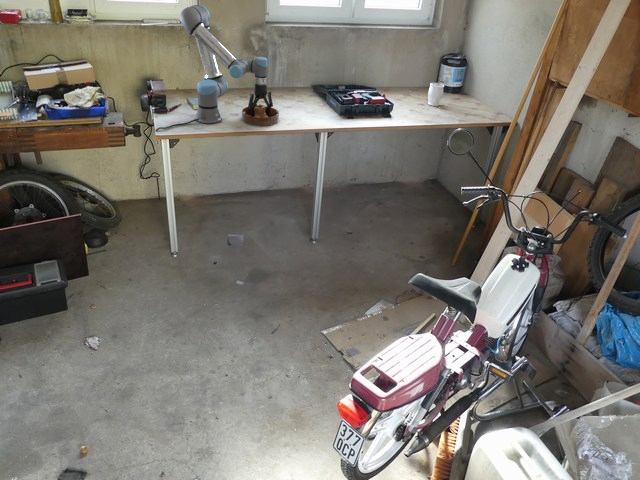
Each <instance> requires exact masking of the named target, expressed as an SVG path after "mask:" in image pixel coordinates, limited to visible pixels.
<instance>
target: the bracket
mask: <svg viewBox="0 0 640 480" xmlns="http://www.w3.org/2000/svg"><path fill="white" fill-rule="evenodd" d="M265 106H266V104H262V103H259V104H258V103H257V104H256V106H255V108H254V110H255V117H260V118H265V117H268V116H267V114H266V113H265Z"/></svg>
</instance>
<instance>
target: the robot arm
mask: <svg viewBox="0 0 640 480" xmlns="http://www.w3.org/2000/svg"><path fill="white" fill-rule="evenodd" d="M210 17H211V14H210V11H209V9H207V7H205V6H204V5H202V4H193V5H191V6H188V7H185V8H184V9H182V10H181V12H180V15H179V19H180V23H181V25H182V27H183V28H184V29H185V31H187V33H188V34H190V36H192V37H194V38H195V42H196V46H197V49H198V54H199V57H200V60H201V64H202V67H203V70H204V76H203V80H200V81H199V82H198V83H197V88H196V90H197V105H198V107H197V110H196V111H197V112H196V114H195V119H193V120H189V121H187V122H184V123H175V124H172V125H167V126H165V127H164V126H161V127H157V128H156V130H155V132H158V131H159V130H166V129H170V128H172V127H176V126H184V125H189V124H191V123H193V122H197V123H200V124H207V125H208V124H209V125H210V124H212V125H213V124H217V123H220V122H221V121H222V117H221V116H222V115H221V113H220V109H219V107H218V105H219V104H218V103H219V102H218V101H219V100H218V99H219V98H221V97H223V96H224V95H225V94H226V92H227V91H228V87H229V84H228V81H227V80H226V78H224V76H223V73H222V72H221V71H220V70H219V66H218V62H217V60H218V61H219V62H220V63H221V64H222V65H223V66H224V67H225V68H226V69H228V72H229V75H230V76H231V77H232V78H233V79H239V78H242V77H243V76H244V75H245V74H247V73H250V74H254V92H249V100H248V101H249V102H248V105H247V107H248V109H250V110H251V115H252V117H255V110H254V108H255V106H256V104H257V105H258V102H259V101H260V100H263V101H264V104H265V106H267V107H266V114H267V116H268V117H269V113H270V109H271V108H274V103H273V98H272V92H271V91H270V90H268V67H269V65H268V58H267V57H265V56H256V57H255V58H254V59H249V58H243V57H242V58H241V57H238V58H236V57H235V56H234V55H233V54H232V53H231V52H230V51H229V50H228V49H227V48H226V47H225V46H224V45H223V44H222V43H221V42H220V41H219V40H218V39H217V38H216V37H215V36H214V35H213V34H212V33H211V32H210V28H211V26H210V22H209V21H210V19H211V18H210ZM159 183H160V182H159V177H158V176H157V177H156V186H157V187H156V188H157V197H158V201H161V193H160V184H159Z"/></svg>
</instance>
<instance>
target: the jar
mask: <svg viewBox="0 0 640 480" xmlns="http://www.w3.org/2000/svg"><path fill="white" fill-rule="evenodd" d="M444 88H445V84H444V83H441V82H430V83H429V88H428V92H427V95H428V96H427V100H428V102H427V105H429V106H432V107H438V106H440V102H441V100H442V99H443V96H444Z"/></svg>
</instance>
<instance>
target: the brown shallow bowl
mask: <svg viewBox="0 0 640 480" xmlns="http://www.w3.org/2000/svg"><path fill="white" fill-rule="evenodd" d="M266 107H267V105H265V113H266ZM279 115H280V112H279V110H278V109H277V108H275V107H271V109H270V113H269V117H265V118H260V117H252V115H251V110H250V109H248V106H246V107H244V108H242V110H241V120H242V122H243V123H245V124H247V125H250V126H254V127H269V126H270V127H271V126H273V125H276V124H277V123H278V122H279V121H280V120H279V117H280V116H279Z"/></svg>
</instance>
